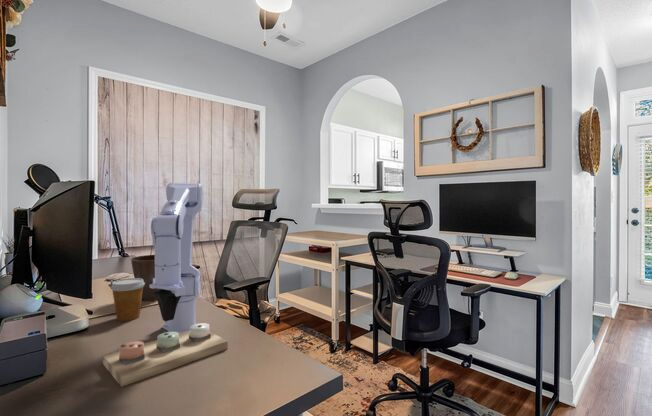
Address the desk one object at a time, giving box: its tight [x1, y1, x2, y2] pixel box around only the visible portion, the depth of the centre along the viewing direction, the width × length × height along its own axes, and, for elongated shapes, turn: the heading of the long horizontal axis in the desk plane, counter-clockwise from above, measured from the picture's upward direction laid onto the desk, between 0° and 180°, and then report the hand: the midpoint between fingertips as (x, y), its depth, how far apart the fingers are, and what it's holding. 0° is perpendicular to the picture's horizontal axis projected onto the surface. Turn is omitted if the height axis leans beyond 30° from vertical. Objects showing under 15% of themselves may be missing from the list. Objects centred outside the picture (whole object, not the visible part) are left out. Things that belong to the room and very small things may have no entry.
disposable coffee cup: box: [110, 277, 145, 322], centre depth 107 cm, size 10×10×12 cm
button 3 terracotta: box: [118, 340, 145, 360], centre depth 75 cm, size 5×5×2 cm
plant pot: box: [130, 254, 160, 301], centre depth 130 cm, size 15×15×16 cm
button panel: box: [102, 330, 229, 388], centre depth 81 cm, size 14×24×3 cm, turn 137°
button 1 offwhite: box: [190, 322, 210, 338], centre depth 87 cm, size 5×5×2 cm
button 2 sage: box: [156, 331, 179, 348], centre depth 81 cm, size 5×5×2 cm
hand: (168, 319), depth 81 cm, fingers closed
